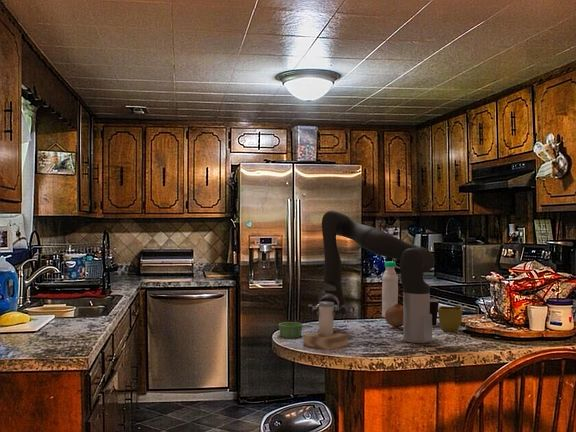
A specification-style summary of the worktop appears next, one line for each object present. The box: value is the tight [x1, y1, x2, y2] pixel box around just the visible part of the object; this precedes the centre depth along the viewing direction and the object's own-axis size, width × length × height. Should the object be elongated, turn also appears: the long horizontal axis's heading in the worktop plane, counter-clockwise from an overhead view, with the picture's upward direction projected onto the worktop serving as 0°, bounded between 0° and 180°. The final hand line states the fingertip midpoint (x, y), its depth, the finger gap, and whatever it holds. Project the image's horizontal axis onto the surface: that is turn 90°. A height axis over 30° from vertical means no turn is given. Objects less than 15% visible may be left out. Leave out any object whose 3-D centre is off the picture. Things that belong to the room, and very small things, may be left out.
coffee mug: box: [430, 298, 440, 327], centre depth 232 cm, size 12×9×10 cm
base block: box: [302, 331, 349, 351], centre depth 190 cm, size 11×11×4 cm
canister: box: [318, 301, 335, 336], centre depth 191 cm, size 5×5×11 cm
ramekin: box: [278, 321, 304, 339], centre depth 206 cm, size 9×9×4 cm
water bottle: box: [381, 261, 399, 319], centre depth 248 cm, size 7×7×25 cm
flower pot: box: [437, 305, 463, 333], centre depth 217 cm, size 9×9×9 cm
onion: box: [384, 303, 403, 329], centre depth 222 cm, size 10×9×10 cm
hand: (325, 312), depth 188 cm, fingers open, 6 cm apart
